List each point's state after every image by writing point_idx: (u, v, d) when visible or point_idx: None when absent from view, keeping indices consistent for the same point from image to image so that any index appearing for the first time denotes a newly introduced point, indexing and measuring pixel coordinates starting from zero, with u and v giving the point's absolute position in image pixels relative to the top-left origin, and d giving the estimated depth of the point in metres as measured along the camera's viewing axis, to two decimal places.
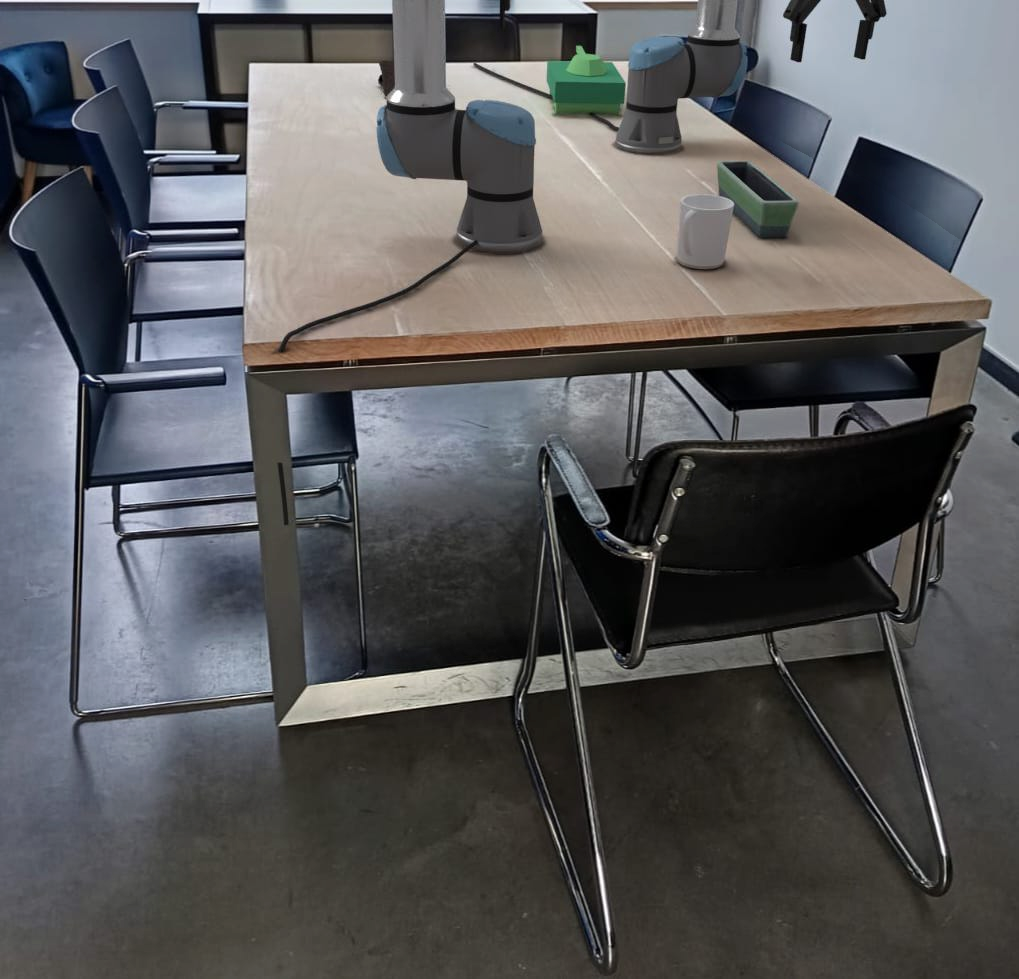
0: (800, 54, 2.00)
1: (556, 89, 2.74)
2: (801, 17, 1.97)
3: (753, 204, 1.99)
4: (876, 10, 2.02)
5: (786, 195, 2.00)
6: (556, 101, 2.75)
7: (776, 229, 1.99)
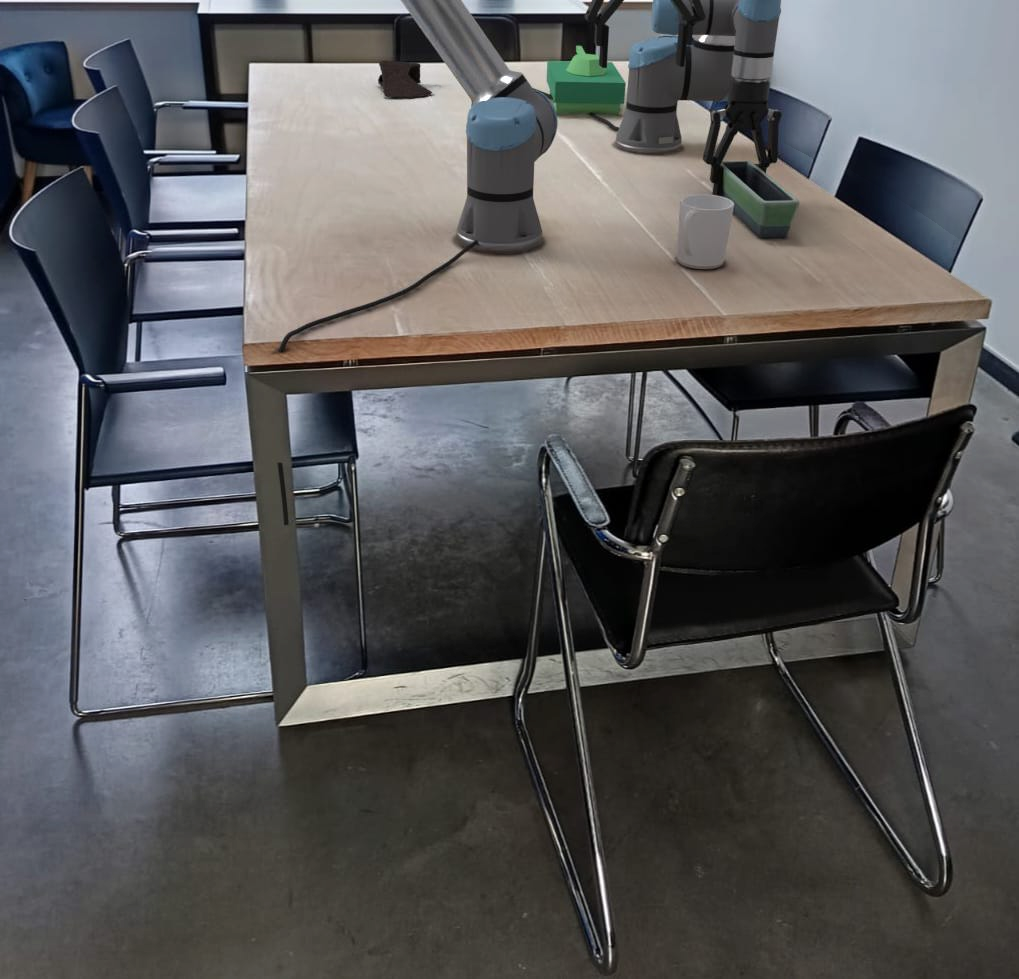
0: None
1: (556, 89, 2.74)
2: None
3: (753, 204, 1.99)
4: None
5: (786, 195, 2.00)
6: (556, 101, 2.75)
7: (776, 229, 1.99)
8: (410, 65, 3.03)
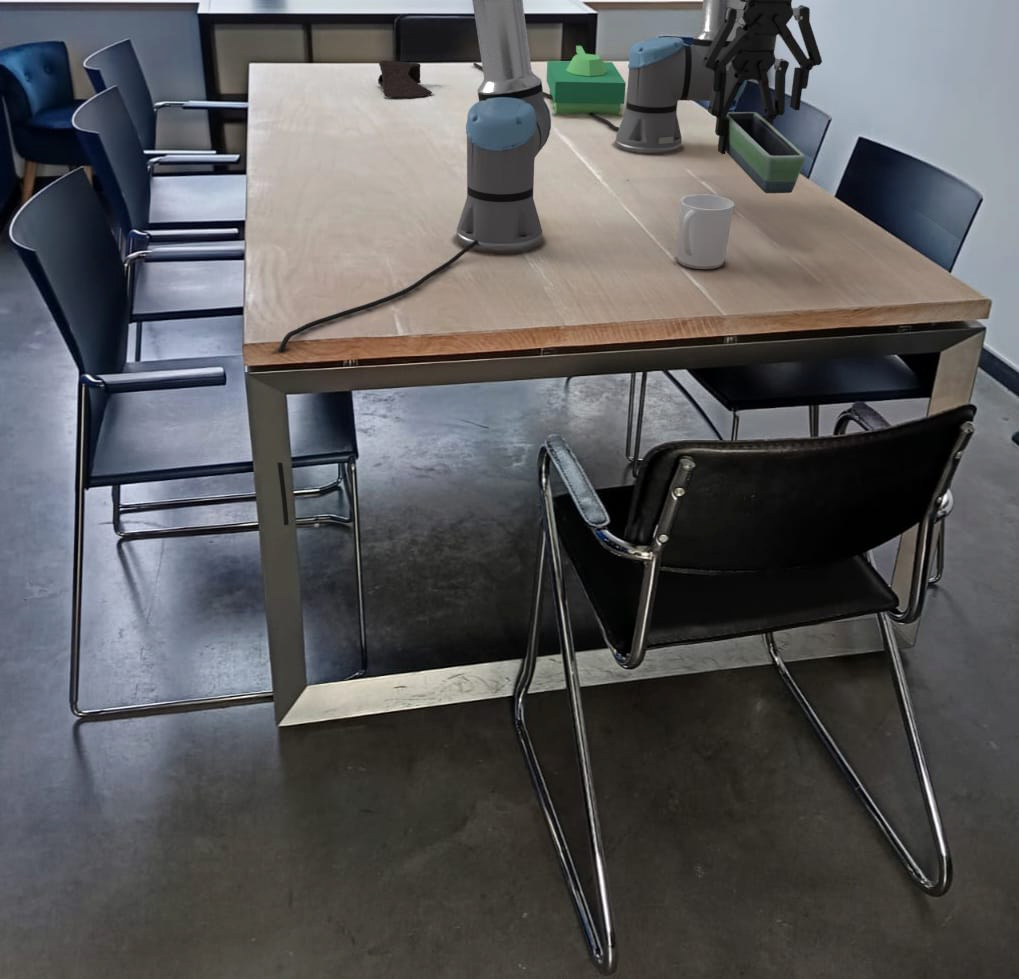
0: None
1: (556, 89, 2.74)
2: None
3: (759, 158, 1.95)
4: None
5: (793, 149, 1.95)
6: (556, 101, 2.75)
7: (782, 185, 1.95)
8: (410, 65, 3.03)
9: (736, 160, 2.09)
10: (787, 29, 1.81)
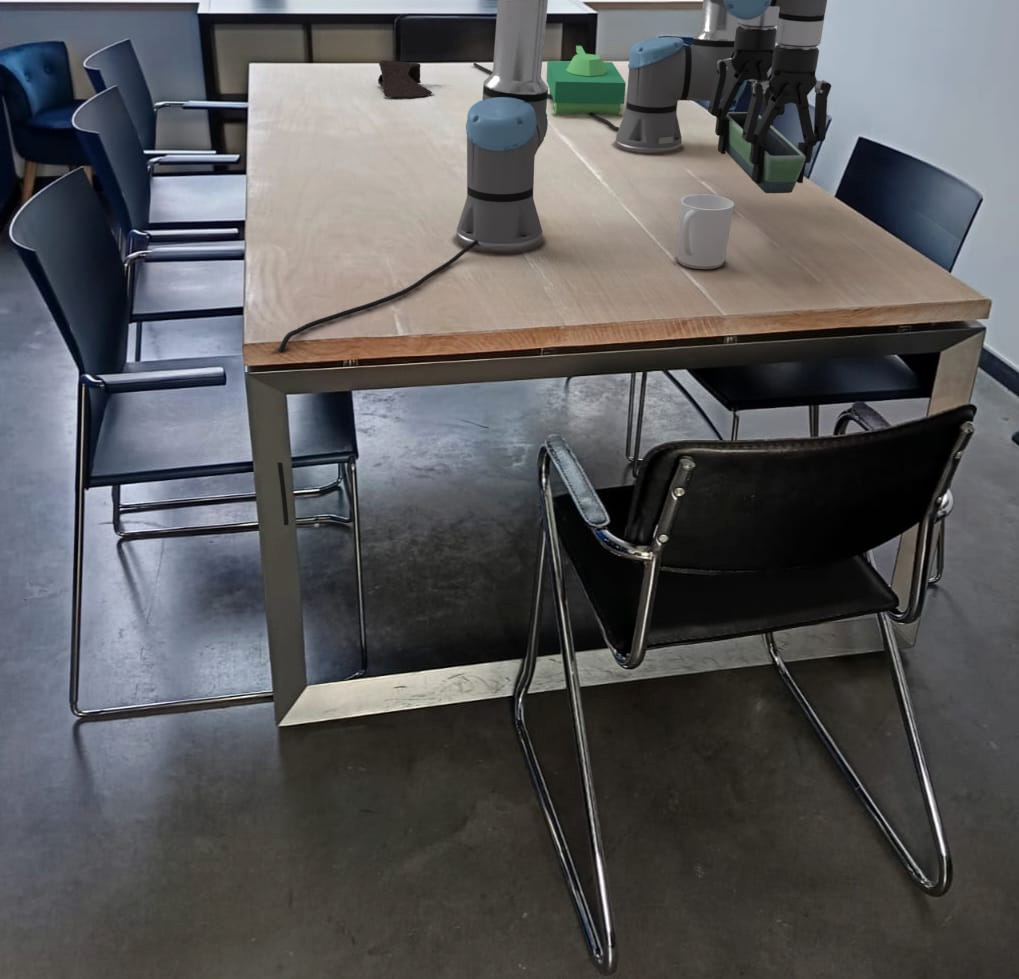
0: None
1: (556, 89, 2.74)
2: None
3: None
4: None
5: (793, 149, 1.95)
6: (556, 101, 2.75)
7: (782, 185, 1.95)
8: (410, 65, 3.03)
9: (736, 160, 2.09)
10: (806, 100, 1.88)
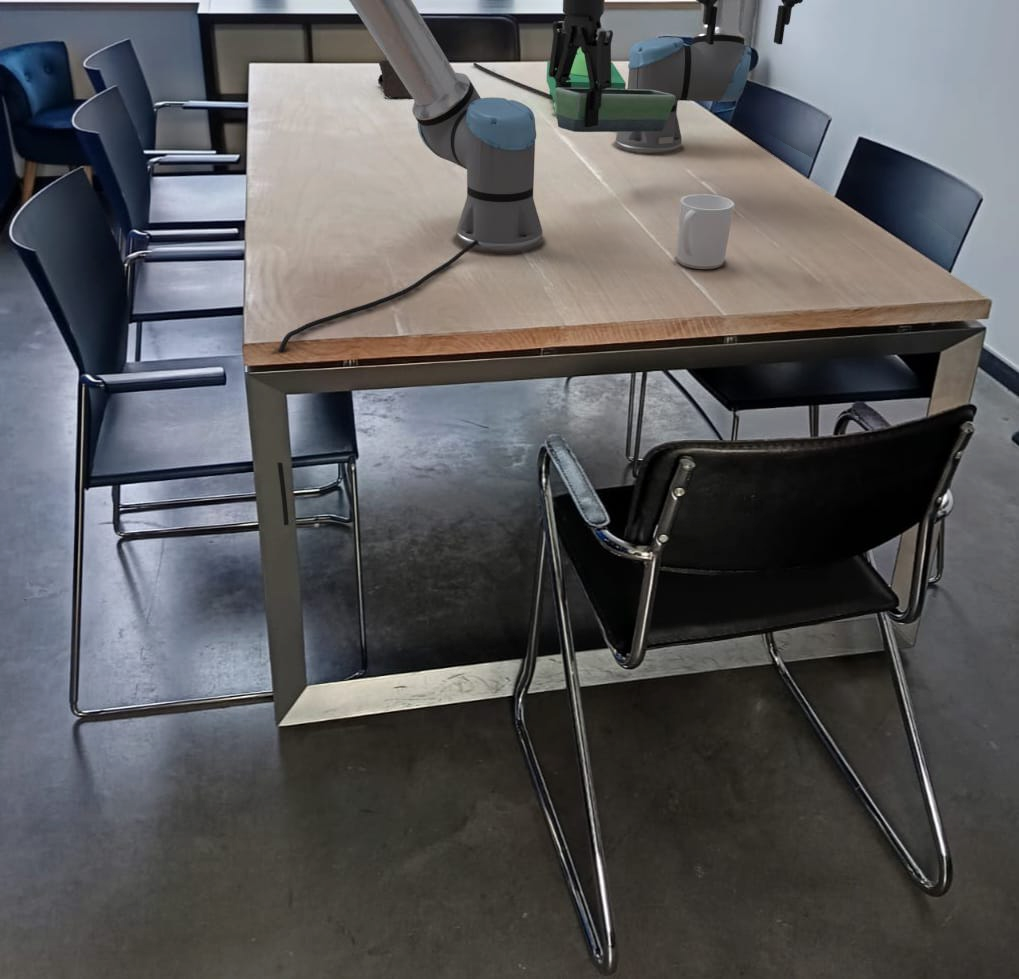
0: (776, 34, 2.10)
1: None
2: None
3: None
4: None
5: None
6: None
7: (566, 120, 2.07)
8: None
9: None
10: (584, 45, 1.99)
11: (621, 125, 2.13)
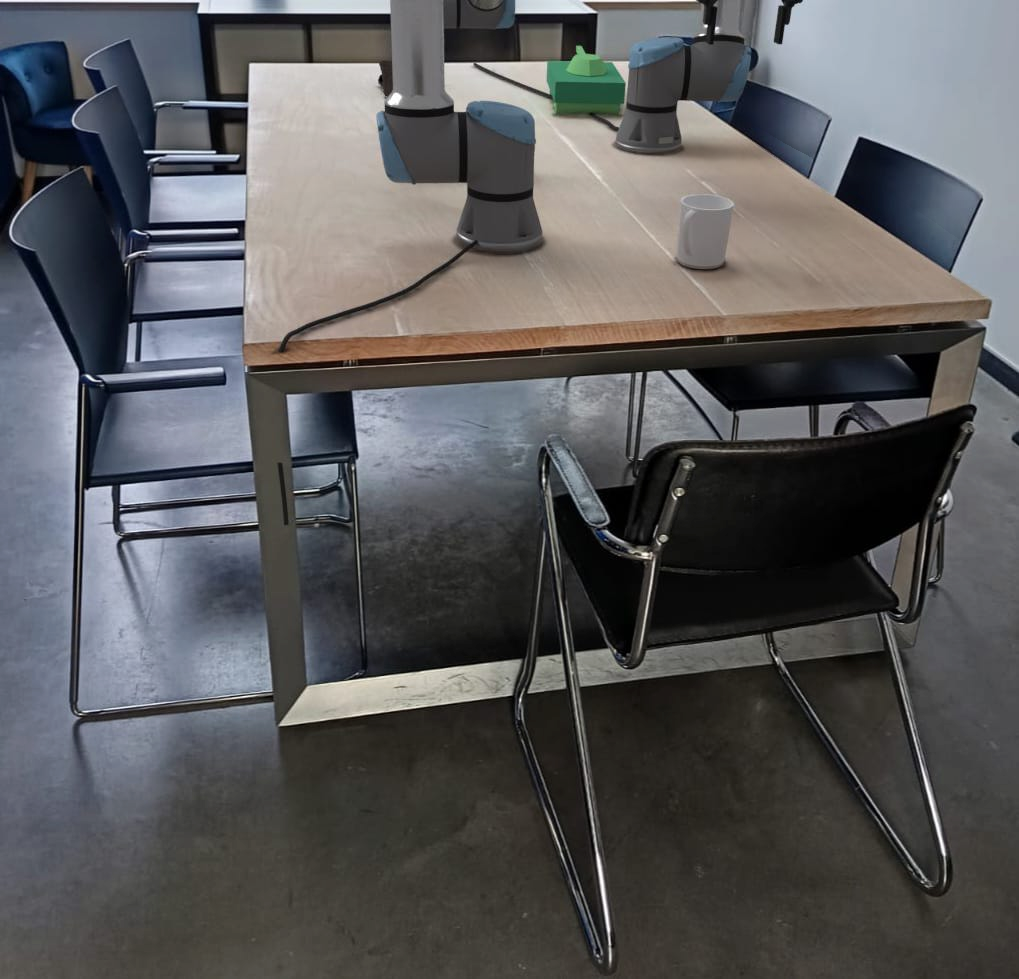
0: (776, 34, 2.10)
1: (556, 89, 2.74)
2: None
3: None
4: None
5: None
6: (556, 101, 2.75)
7: None
8: None
9: None
10: None
11: None
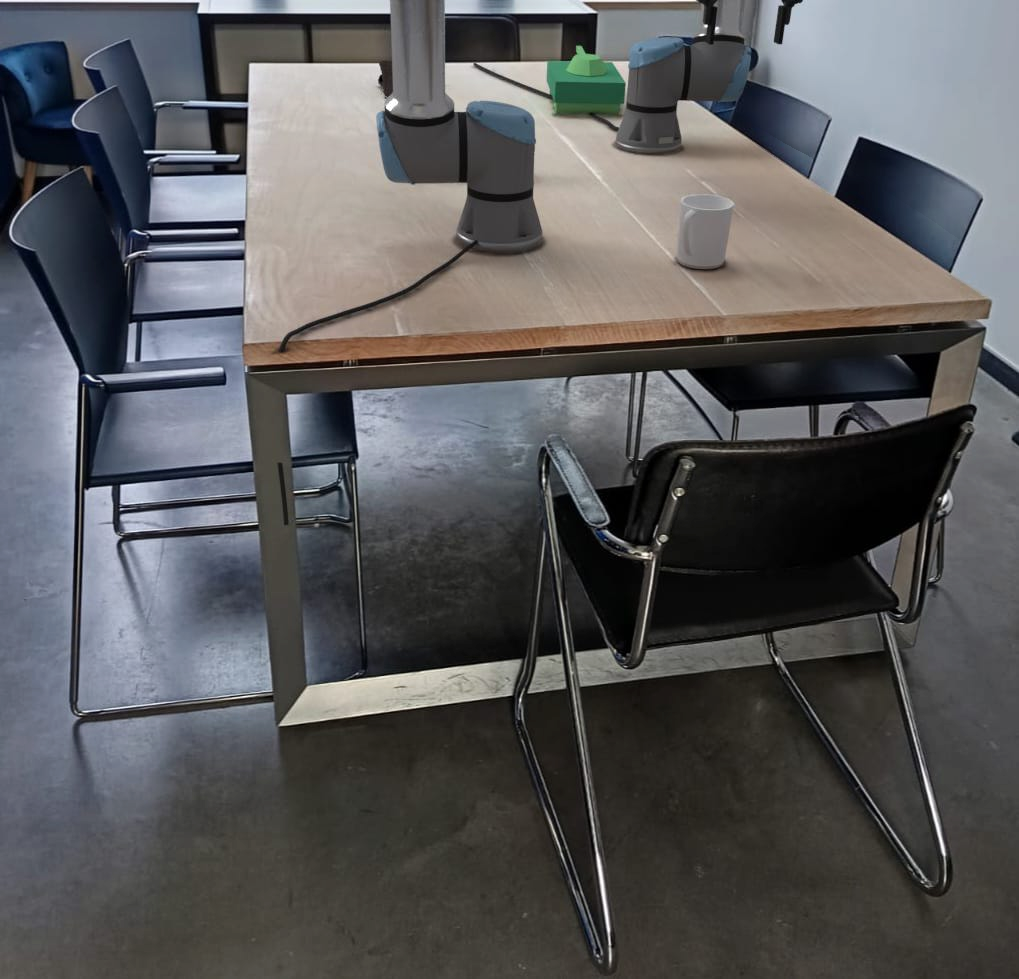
0: (776, 34, 2.10)
1: (556, 89, 2.74)
2: None
3: None
4: None
5: None
6: (556, 101, 2.75)
7: None
8: None
9: None
10: None
11: None
